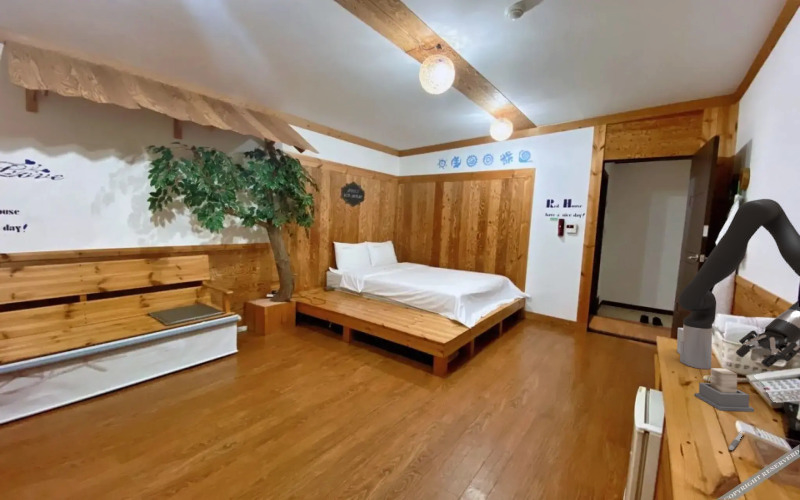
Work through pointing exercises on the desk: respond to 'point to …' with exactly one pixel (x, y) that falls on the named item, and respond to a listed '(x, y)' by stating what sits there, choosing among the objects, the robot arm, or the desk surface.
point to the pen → (735, 442)
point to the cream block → (723, 380)
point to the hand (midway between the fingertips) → (751, 360)
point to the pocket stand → (724, 399)
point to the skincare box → (679, 339)
